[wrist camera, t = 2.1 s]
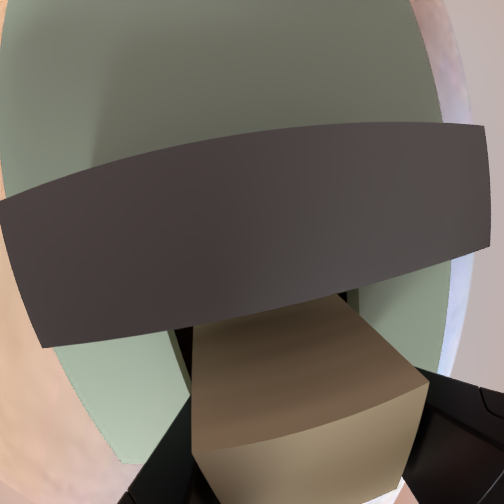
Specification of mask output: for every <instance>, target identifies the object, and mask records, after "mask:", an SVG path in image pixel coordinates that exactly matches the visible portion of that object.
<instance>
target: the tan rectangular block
mask: <svg viewBox="0 0 504 504" xmlns="http://www.w3.org/2000/svg"><path fill="white" fill-rule="evenodd" d="M428 387H429V381H428V380H427V379H426V378H425V377H424V376H423V375H422V374H421V373H420V372H419V371H418V370H417V369H416V368H415V367H414V366H413V365H412V364H411V363H410V362H409V361H408V360H407V359H405V358H404V357H403V356H402V355H401V354H400V353H399V352H398V351H397V350H396V349H395V348H394V347H393V346H392V345H391V344H390V343H389V342H388V341H387V340H386V339H384V338H383V337H382V336H381V335H380V334H379V333H378V332H377V331H376V330H375V329H374V328H373V327H372V326H371V325H370V324H369V323H367V322H366V321H365V320H364V319H363V318H362V317H361V316H360V315H359V314H358V313H357V312H356V311H355V310H354V309H352V308H351V307H350V306H349V305H348V304H347V303H346V302H345V301H344V300H343V299H342V298H341V297H339V296H338V295H337V294H333V295H330V296H326V297H322V298H318V299H314V300H310V301H306V302H302V303H298V304H294V305H289V306H285V307H281V308H277V309H272V310H268V311H263V312H259V313H254V314H250V315H245V316H241V317H236V318H231V319H226V320H221V321H216V322H211V323H206V324H201V325H196V326H193V352H192V406H191V427H192V454H193V456H194V458H195V460H196V462H197V464H198V466H199V467H200V469H201V471H202V473H203V474H204V476H205V478H206V480H207V481H208V483H209V485H210V487H211V488H212V490H213V492H214V493H215V495H216V496H217V498H218V500H219V501H220V503H221V504H362V503H365V502H367V501H370V500H372V499H375V498H377V497H379V496H381V495H384V494H386V493H388V492H390V491H392V490H395V489H397V486H398V484H399V481H400V479H401V476H402V474H403V471H404V468H405V466H406V463H407V460H408V457H409V454H410V451H411V448H412V445H413V442H414V439H415V436H416V433H417V429H418V426H419V422H420V419H421V415H422V411H423V408H424V404H425V400H426V396H427V391H428Z"/></svg>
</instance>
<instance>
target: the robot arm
mask: <svg viewBox="0 0 504 504" xmlns="http://www.w3.org/2000/svg"><path fill="white" fill-rule="evenodd" d="M414 367H415V366H414ZM415 368H416V369H417V370H418V371H419V372H420V373H421V374H422V375H423V376H424V377H425V378H426V379H427V380H428V381H429V387H428V391H427V396H426V400H425V404H424V408H423V411H422V415H421V419H420V422H419V426H418V429H417V433H416V436H415V439H414V442H413V445H412V448H411V451H410V454H409V457H408V460H407V463H406V466H405V468H404V471H403V474H402V477H403V479H404V481H405V482H406V484H407V485H408V487H409V488H410V490H411V492H412V493H413V495H414V496H415V498H416V499H417V501H418V503H419V504H504V393H501V392H497V391H493V390H490V389H486V388H483V387H480V388H479V387H478V386H475V385H472V384H469V383H466V382H462V381H459V380H456V379H452V378H449V377H446V376H443V375H440V374H437V373H434V372H430V371H427V370H424V369H421V368H418V367H415ZM191 406H192V393H191V394H190V396H189V398H188V399H187V401H186V402H185V404H184V405H183V407H182V408H181V410H180V411H179V413H178V414H177V416H176V417H175V419H174V421H173V422H172V424H171V425H170V427H169V428H168V430H167V431H166V433H165V434H164V436H163V437H162V439H161V440H160V442H159V443H158V445H157V446H156V448H155V449H154V451H153V452H152V454H151V455H150V457H149V458H148V460H147V461H146V463H145V464H144V465H143V467H142V468H141V470H140V471H139V473H138V474H137V476H136V477H135V479H134V480H133V482H132V483H131V485H130V486H129V487H128V489H127V490H128V492H127V491H126V492H125V493H124V494H123V496H122V497H121V499H120V500H119V502H118V503H117V504H221V503H220V501H219V500H218V498H217V496H216V495H215V493H214V492H213V490H212V488H211V487H210V485H209V483H208V481H207V480H206V478H205V476H204V474H203V473H202V471H201V469H200V467H199V466H198V464H197V462H196V460H195V458H194V456H193V454H192V427H191Z"/></svg>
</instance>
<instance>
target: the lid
mask: <svg viewBox="0 0 504 504" xmlns="http://www.w3.org/2000/svg"><path fill="white" fill-rule="evenodd" d="M0 159H1V167H2V175H3V182H4V189H5V195H6V199H4V200H1V201H0V225H1V229H2V233H3V238H4V242H5V245H6V249H7V253H8V257H9V260H10V264H11V267H12V270H13V273H14V277H15V280H16V283H17V286H18V289H19V292H20V294H21V297H22V300H23V303H24V305H25V308H26V311H27V313H28V316H29V318H30V321H31V323H32V326H33V328H34V330H35V333H36V335H37V337H38V340H39V342H40V344H41V346H42V348H50V347H53V349H54V351H55V353H56V355H57V357H58V359H59V361H60V363H61V365H62V367H63V369H64V371H65V373H66V375H67V377H68V379H69V381H70V383H71V385H72V386H73V388H74V390H75V392H76V394H77V395H78V397H79V399H80V401H81V402H82V404H83V406H84V407H85V409H86V411H87V412H88V414H89V416H90V417H91V419H92V421H93V422H94V424H95V425H96V427H97V428H98V430H99V431H100V433H101V434H102V436H103V437H104V439H105V440H106V442H107V443H108V445H109V446H110V447H111V449H112V450H113V452H114V453H115V454H116V456H117V457H118V458H119V460H120V461H121V462H122V464H145V463H146V461H147V460H148V458H149V457H150V455H151V454H152V452H153V451H154V449H155V448H156V446H157V445H158V443H159V442H160V440H161V439H162V437H163V436H164V434H165V433H166V431H167V430H168V428H169V427H170V425H171V424H172V422H173V421H174V419H175V417H176V416H177V414H178V413H179V411H180V410H181V408H182V407H183V405H184V404H185V402H186V401H187V399H188V398H189V396H190V394H191V393H192V382H191V380H190V377H189V374H188V371H187V368H186V365H185V362H184V360H183V357H182V354H181V351H180V348H179V345H178V341H177V338H176V335H175V332H174V329H180V328H185V327H191V326H196V325H201V324H206V323H211V322H216V321H221V320H226V319H231V318H236V317H241V316H245V315H250V314H254V313H259V312H263V311H268V310H272V309H277V308H281V307H285V306H289V305H294V304H298V303H302V302H306V301H310V300H314V299H318V298H322V297H326V296H330V295H333V294H337V293H341V292H345V291H347V304H348V305H349V306H350V307H351V308H352V309H354V310H355V311H356V312H357V313H358V314H359V315H360V316H361V317H362V318H363V319H364V320H365V321H366V322H367V323H369V324H370V325H371V326H372V327H373V328H374V329H375V330H376V331H377V332H378V333H379V334H380V335H381V336H382V337H383V338H384V339H386V340H387V341H388V342H389V343H390V344H391V345H392V346H393V347H394V348H395V349H396V350H397V351H398V352H399V353H400V354H401V355H402V356H403V357H404V358H405V359H407V360H408V361H409V362H410V363H411V364H412V365H413V366H415V367H418V368H421V369H424V370H427V371H430V372H434V373H437V370H438V365H439V360H440V355H441V349H442V343H443V337H444V330H445V323H446V315H447V307H448V297H449V286H450V271H451V260H452V259H455V258H458V257H461V256H464V255H467V254H469V253H472V252H475V251H478V250H481V249H484V248H486V247H489V246H490V231H491V230H490V229H491V198H490V176H489V163H488V152H487V144H486V136H485V129H484V126H479V125H468V124H454V123H443V122H442V116H441V110H440V105H439V100H438V95H437V91H436V86H435V82H434V78H433V74H432V70H431V66H430V62H429V59H428V55H427V52H426V48H425V45H424V42H423V38H422V35H421V32H420V29H419V26H418V24H417V21H416V18H415V15H414V12H413V10H412V7H411V5H410V2H409V0H8V3H7V8H6V14H5V19H4V25H3V32H2V39H1V47H0Z"/></svg>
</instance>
